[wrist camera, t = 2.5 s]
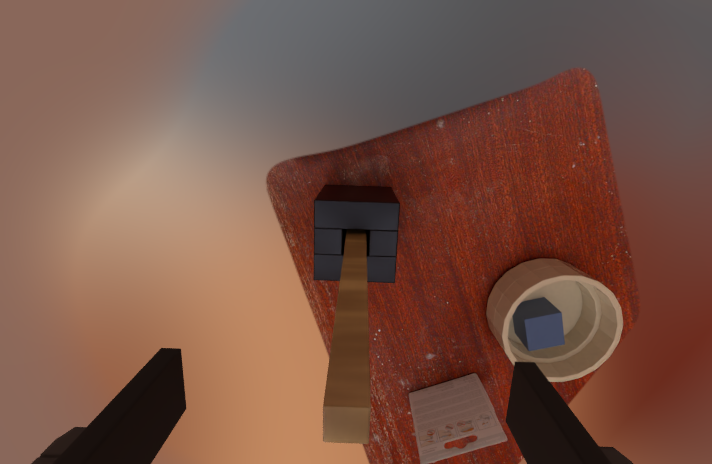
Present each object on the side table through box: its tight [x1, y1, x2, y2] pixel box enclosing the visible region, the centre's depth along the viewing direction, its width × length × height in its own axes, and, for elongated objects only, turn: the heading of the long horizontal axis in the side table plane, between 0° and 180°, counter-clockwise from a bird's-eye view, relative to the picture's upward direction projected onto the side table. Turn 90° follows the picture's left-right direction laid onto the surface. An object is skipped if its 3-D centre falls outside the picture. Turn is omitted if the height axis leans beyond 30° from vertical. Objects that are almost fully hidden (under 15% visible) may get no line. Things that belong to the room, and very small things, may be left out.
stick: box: [323, 229, 371, 444], centre depth 29 cm, size 2×2×30 cm
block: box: [512, 297, 565, 351], centre depth 43 cm, size 4×4×4 cm
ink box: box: [409, 373, 507, 464], centre depth 43 cm, size 3×9×12 cm, turn 111°
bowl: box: [486, 258, 623, 382], centre depth 43 cm, size 12×12×6 cm
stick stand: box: [314, 185, 400, 283], centre depth 38 cm, size 7×7×10 cm
